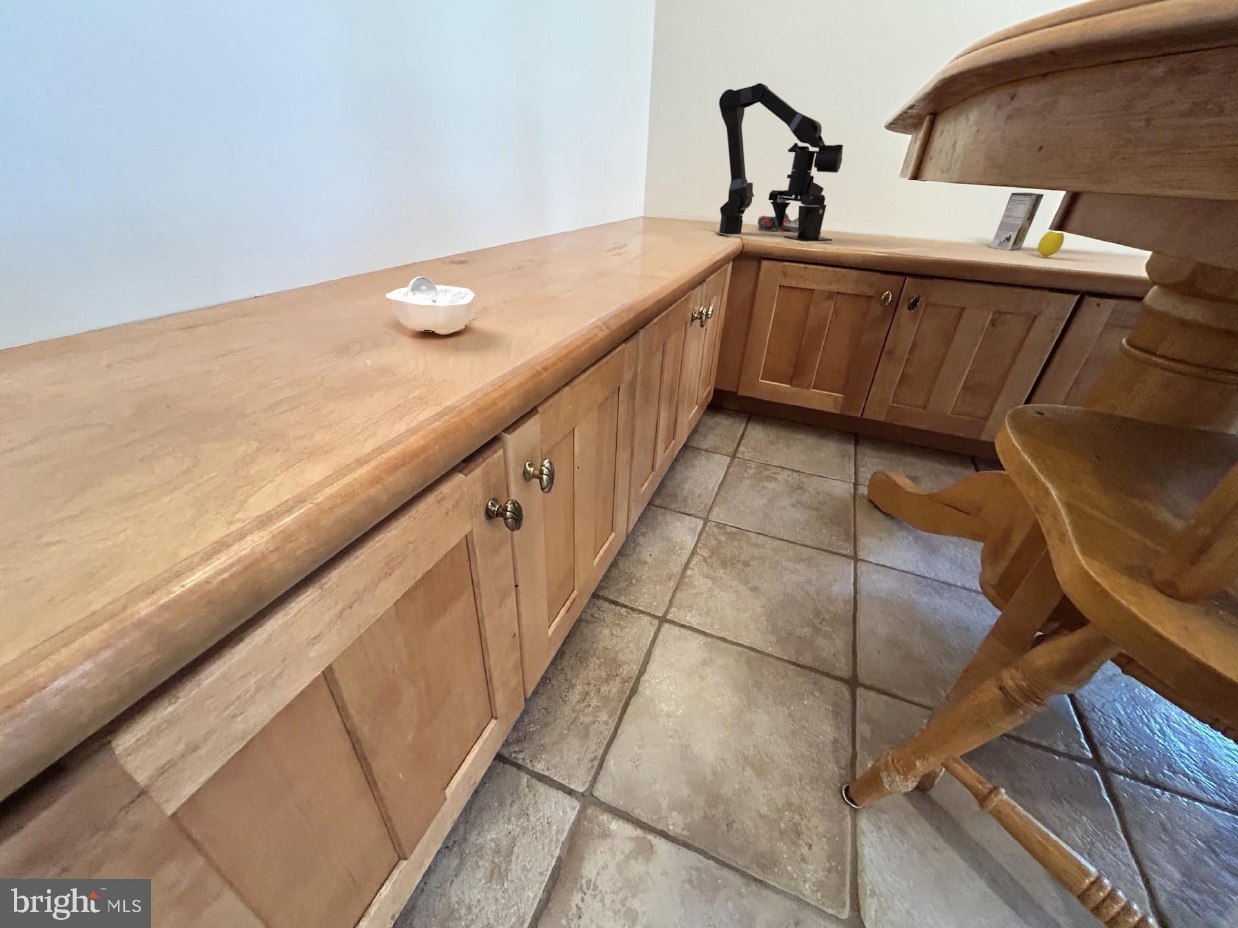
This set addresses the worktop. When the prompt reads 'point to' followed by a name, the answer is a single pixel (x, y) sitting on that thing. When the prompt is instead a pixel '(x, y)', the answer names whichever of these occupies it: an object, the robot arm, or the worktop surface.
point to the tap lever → (792, 223)
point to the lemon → (1050, 243)
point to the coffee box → (1016, 220)
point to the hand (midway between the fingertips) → (789, 229)
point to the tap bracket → (812, 227)
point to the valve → (774, 224)
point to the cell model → (432, 305)
